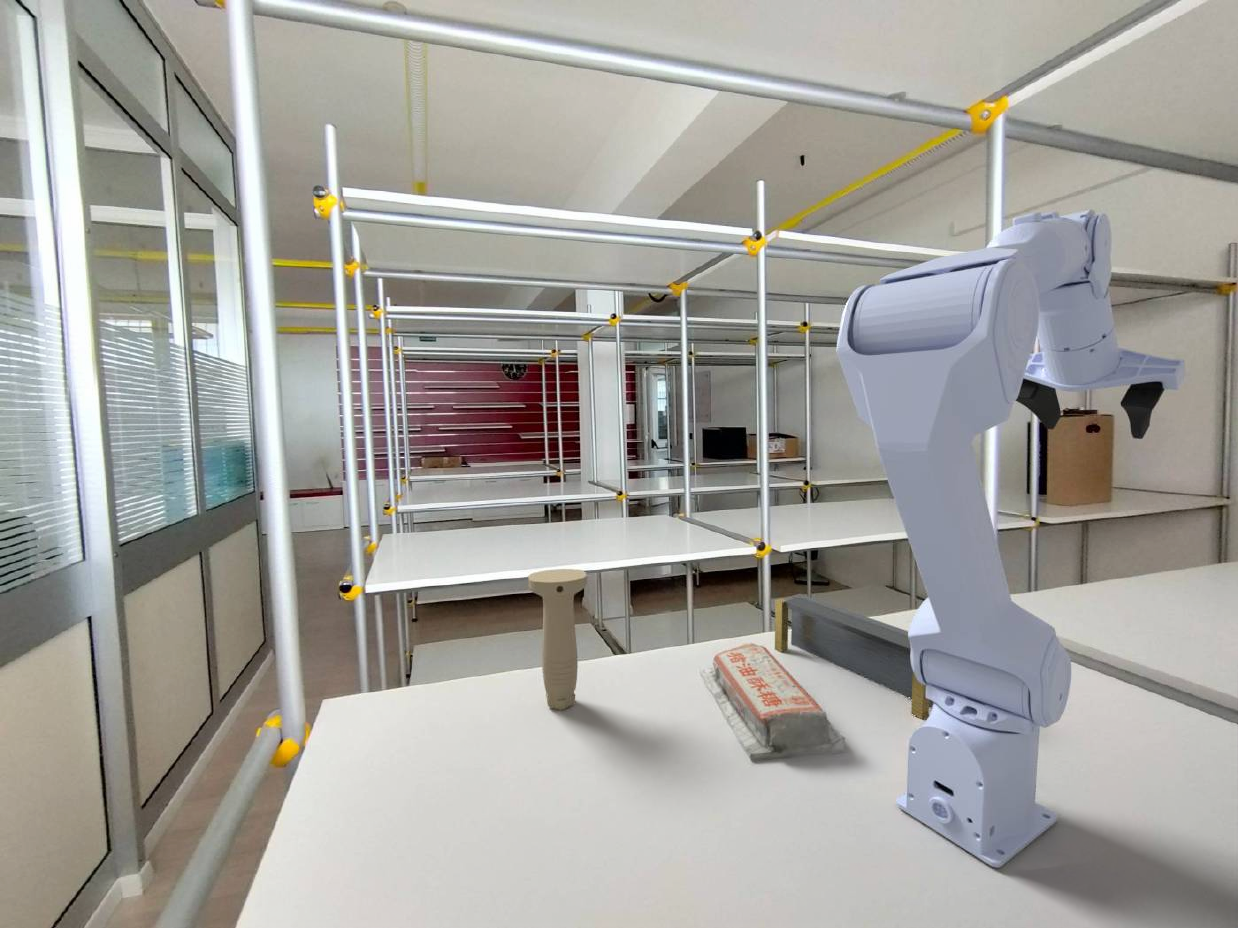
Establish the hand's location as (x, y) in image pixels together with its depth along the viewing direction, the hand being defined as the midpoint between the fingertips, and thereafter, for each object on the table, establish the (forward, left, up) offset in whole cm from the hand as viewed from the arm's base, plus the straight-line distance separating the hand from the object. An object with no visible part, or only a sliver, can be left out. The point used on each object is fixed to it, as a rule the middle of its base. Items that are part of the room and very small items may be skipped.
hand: (1095, 426), depth 61 cm
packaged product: (-31, +17, -31) cm, 47 cm away
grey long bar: (-16, +17, -31) cm, 39 cm away
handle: (-50, +30, -31) cm, 66 cm away
